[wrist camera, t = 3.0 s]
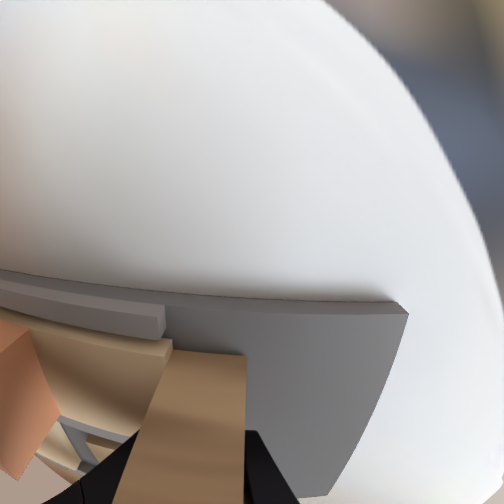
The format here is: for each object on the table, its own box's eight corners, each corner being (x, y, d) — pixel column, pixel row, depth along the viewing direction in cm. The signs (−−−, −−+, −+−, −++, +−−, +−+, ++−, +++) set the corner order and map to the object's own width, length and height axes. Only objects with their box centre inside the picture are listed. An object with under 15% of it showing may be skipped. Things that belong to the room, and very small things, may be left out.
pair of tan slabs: (173, 485, 11) (170, 498, 10) (25, 434, 11) (19, 442, 10) (159, 442, 10) (154, 458, 9) (-3, 383, 10) (-12, 392, 9)
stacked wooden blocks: (241, 434, 10) (237, 565, 4) (0, 371, 9) (-57, 432, 4) (247, 345, 9) (243, 531, 3) (-26, 295, 8) (-104, 346, 3)
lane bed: (324, 483, 13) (329, 505, 11) (38, 434, 12) (28, 450, 11) (396, 301, 9) (419, 324, 8) (-27, 264, 9) (-49, 274, 7)
